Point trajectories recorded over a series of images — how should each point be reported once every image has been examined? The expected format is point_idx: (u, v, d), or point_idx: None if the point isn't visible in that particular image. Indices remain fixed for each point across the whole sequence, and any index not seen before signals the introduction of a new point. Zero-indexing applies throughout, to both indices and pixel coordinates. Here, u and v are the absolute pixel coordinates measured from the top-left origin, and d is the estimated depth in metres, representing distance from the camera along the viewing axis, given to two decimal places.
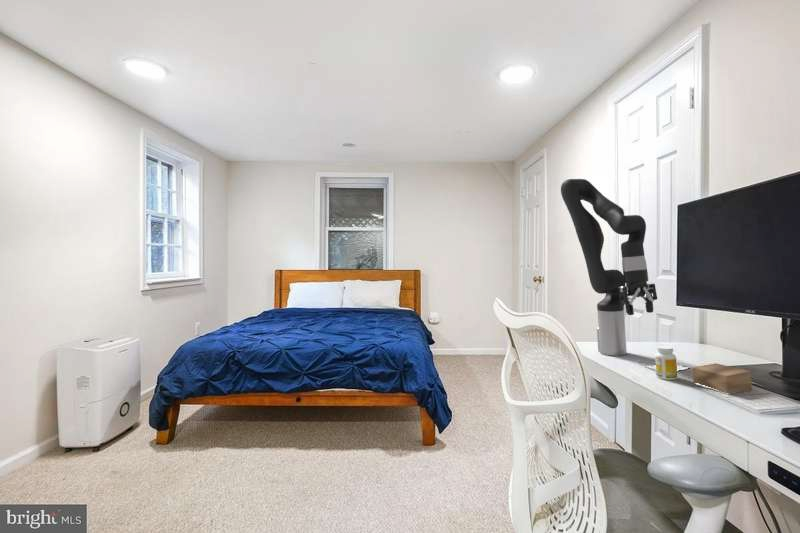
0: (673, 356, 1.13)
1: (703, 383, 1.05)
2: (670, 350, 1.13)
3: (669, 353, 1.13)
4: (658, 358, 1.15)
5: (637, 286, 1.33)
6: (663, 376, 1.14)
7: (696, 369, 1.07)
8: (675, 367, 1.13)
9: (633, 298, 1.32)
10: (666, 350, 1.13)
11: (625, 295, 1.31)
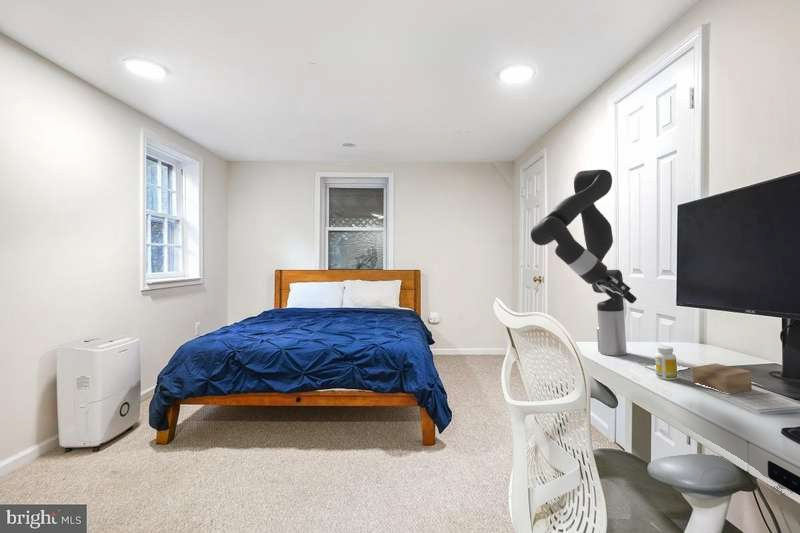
0: (673, 356, 1.13)
1: (703, 383, 1.05)
2: (670, 350, 1.13)
3: (669, 353, 1.13)
4: (658, 358, 1.15)
5: (597, 281, 1.16)
6: (663, 376, 1.14)
7: (696, 369, 1.07)
8: (675, 367, 1.13)
9: None
10: (666, 350, 1.13)
11: (594, 286, 1.22)
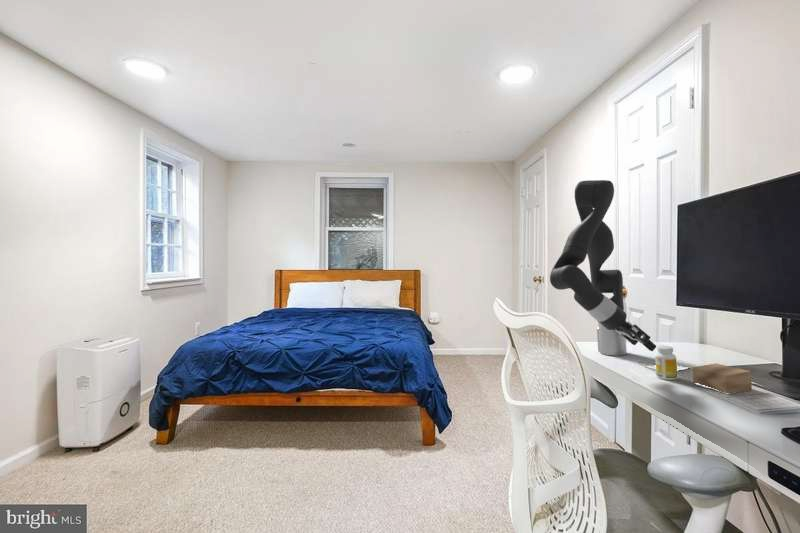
0: (673, 356, 1.13)
1: (703, 383, 1.05)
2: (670, 350, 1.13)
3: (669, 353, 1.13)
4: (658, 358, 1.15)
5: None
6: (663, 376, 1.14)
7: (696, 369, 1.07)
8: (675, 367, 1.13)
9: None
10: (666, 350, 1.13)
11: (612, 329, 1.22)
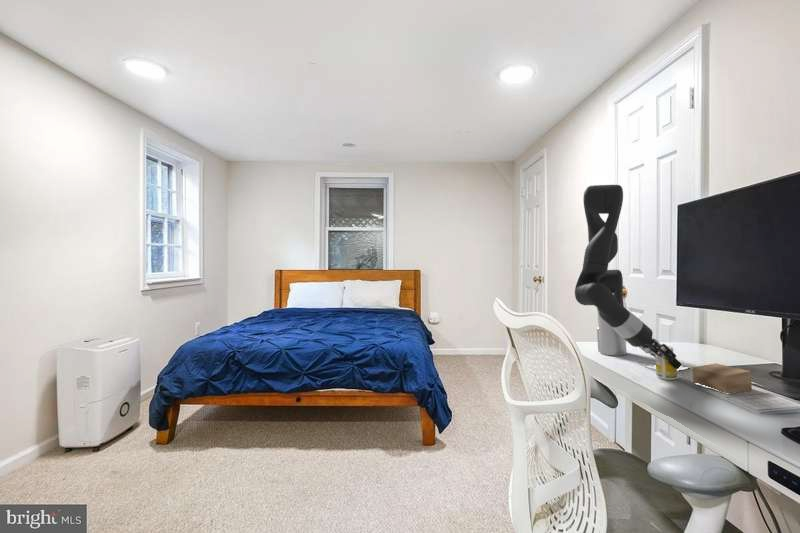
0: None
1: (703, 383, 1.05)
2: None
3: None
4: (658, 358, 1.15)
5: None
6: (663, 376, 1.14)
7: (696, 369, 1.07)
8: None
9: None
10: None
11: (640, 347, 1.21)
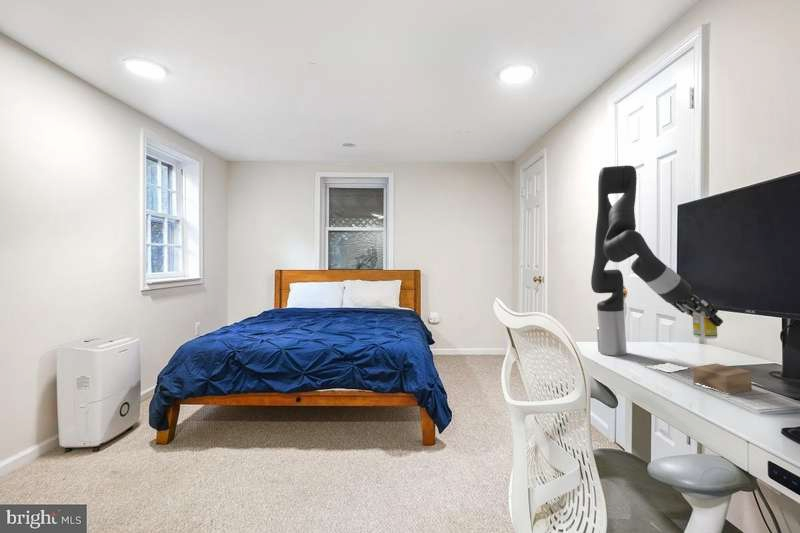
0: None
1: (703, 383, 1.05)
2: None
3: None
4: (696, 316, 1.06)
5: None
6: (702, 335, 1.05)
7: (696, 369, 1.07)
8: None
9: None
10: None
11: (675, 306, 1.12)
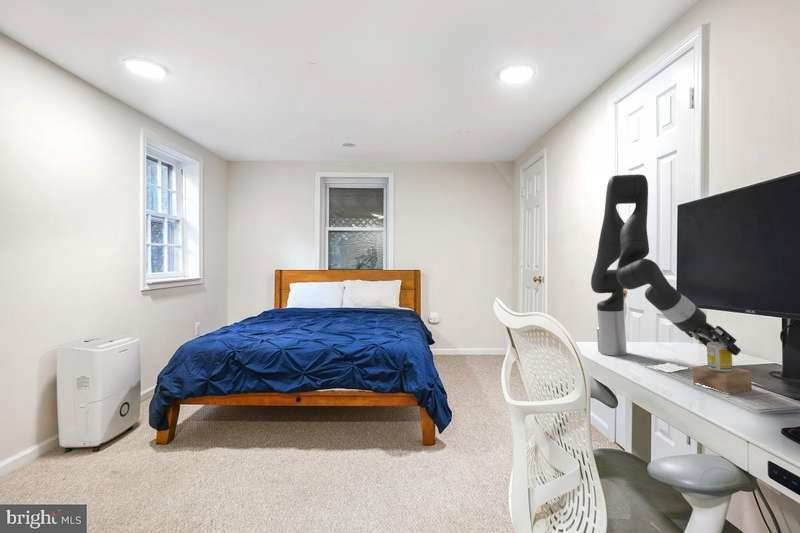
0: None
1: (703, 383, 1.05)
2: None
3: None
4: (710, 348, 1.04)
5: None
6: (717, 368, 1.03)
7: (696, 369, 1.07)
8: (731, 358, 1.03)
9: None
10: None
11: (684, 331, 1.12)
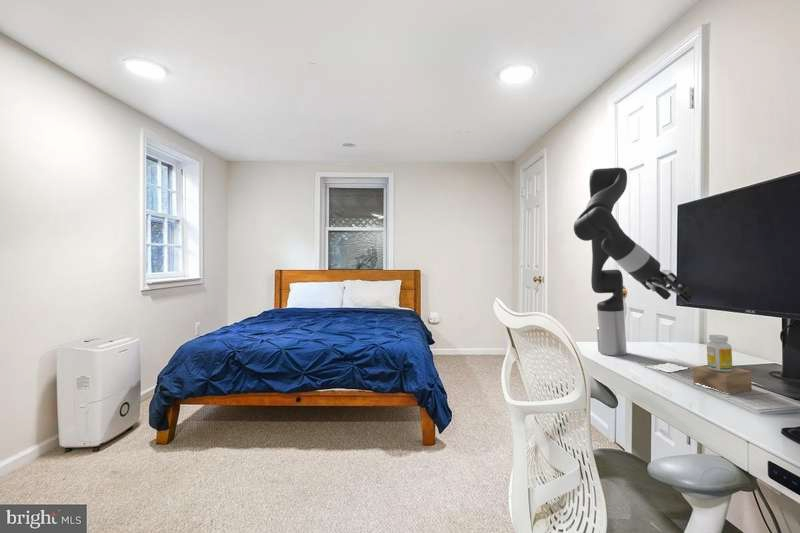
0: (728, 345, 1.03)
1: (703, 383, 1.05)
2: (725, 339, 1.03)
3: (724, 342, 1.03)
4: (710, 348, 1.04)
5: (648, 278, 1.06)
6: (717, 368, 1.03)
7: (696, 369, 1.07)
8: (731, 358, 1.03)
9: None
10: (720, 339, 1.03)
11: (642, 283, 1.12)
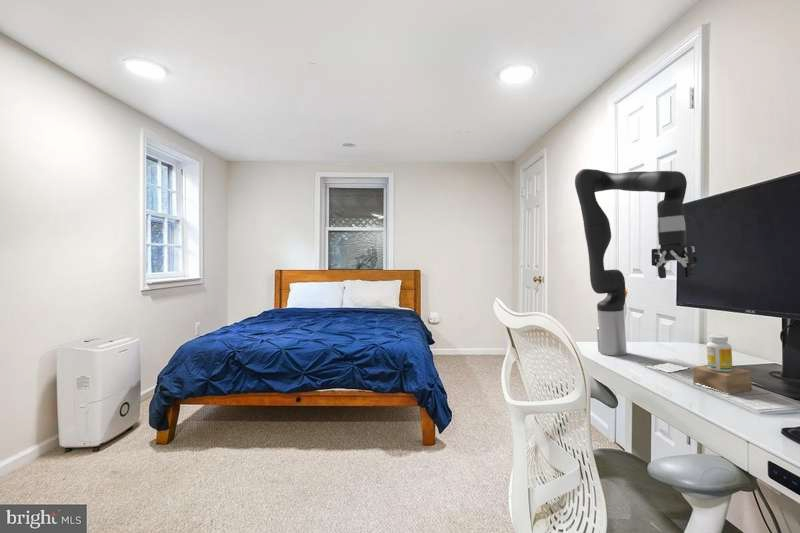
0: (728, 345, 1.03)
1: (703, 383, 1.05)
2: (725, 339, 1.03)
3: (724, 342, 1.03)
4: (710, 348, 1.04)
5: (667, 249, 1.25)
6: (717, 368, 1.03)
7: (696, 369, 1.07)
8: (731, 358, 1.03)
9: (660, 261, 1.27)
10: (720, 339, 1.03)
11: (652, 257, 1.30)
